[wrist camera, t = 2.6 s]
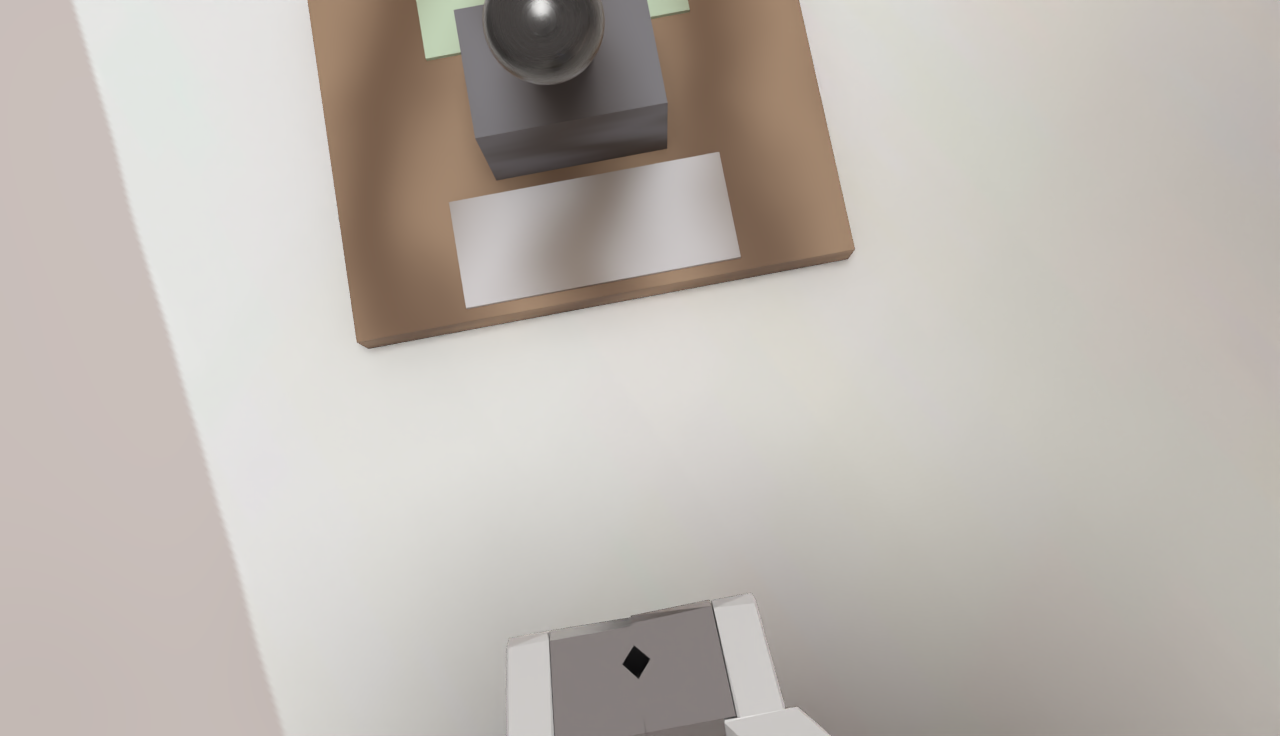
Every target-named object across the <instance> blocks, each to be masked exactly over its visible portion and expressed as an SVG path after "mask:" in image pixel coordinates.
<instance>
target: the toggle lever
mask: <svg viewBox="0 0 1280 736" xmlns="http://www.w3.org/2000/svg"><path fill="white" fill-rule="evenodd" d="M482 21H483V30H484V35H485V39H486V42H487V44H488V46H489V49H490V51H491V52H492V54H493V56H494V57H495V59H496V60H497V61H498V63H499V64H500V65H501V66H502V67H503V68H504V69H505V70H507V71H508V72H509V73H510V74H512V75H513V76H515V77H517V78H518V79H521V80H523V81H525V82H528V83H532V84H537V85H554V84H559V83H563V82H566V81H568V80H570V79H572V78H574V77H576V76H578V75H579V74H580V73H581V72H583V71H584V70H585V69H586V68H587V67H588V66H589V65H590V64H591V62H592V61H593V60H594V58H595V56H596V55H597V53H598V51H599V49H600V46H601V44H602V40H603V36H604V29H605V17H604V9H603V5H602V2H601V0H485V2H484V6H483V14H482Z"/></svg>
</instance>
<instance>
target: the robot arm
mask: <svg viewBox="0 0 1280 736" xmlns="http://www.w3.org/2000/svg"><path fill="white" fill-rule="evenodd" d="M506 736H831V735H830V734H829V733H828V732H826V731H825V730H824V729H823V728H822V727H821V726H820V725H818V724H817V723H816V722H815V721H814V720H813V719H812V718H810V717H809V716H808V715H807V714H806V713H805V712H804V711H802V710H801V709H800V708H799V707H791V708H785V704H784V701H783V697H782V693H781V690H780V686H779V682H778V679H777V675H776V671H775V668H774V664H773V661H772V657H771V653H770V650H769V646H768V642H767V639H766V635H765V631H764V628H763V624H762V620H761V617H760V613H759V609H758V606H757V602H756V599H755V598H754V596H753V595H752V593H747V594H741V595H736V596H731V597H726V598H721V599H715V600H712V601H711V602H710V600H706V601H701V602H696V603H691V604H686V605H681V606H676V607H671V608H666V609H661V610H657V611H652V612H647V613H642V614H637V615H632V616H631V617H630V618H624V619H618V620H612V621H605V622H599V623H593V624H587V625H581V626H575V627H569V628H563V629H556V630H551V631H545V632H540V633H534V634H529V635H523V636H517V637H512V638H509V641H508V645H507V649H506Z"/></svg>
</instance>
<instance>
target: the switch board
mask: <svg viewBox="0 0 1280 736" xmlns="http://www.w3.org/2000/svg"><path fill="white" fill-rule="evenodd" d="M484 2H485V0H308V7H309V13H310V20H311V27H312V34H313V41H314V48H315V55H316V62H317V69H318V76H319V83H320V90H321V97H322V104H323V111H324V118H325V124H326V131H327V138H328V145H329V152H330V159H331V166H332V173H333V180H334V187H335V194H336V201H337V208H338V215H339V222H340V229H341V235H342V242H343V249H344V256H345V263H346V270H347V277H348V284H349V291H350V298H351V305H352V312H353V319H354V326H355V333H356V340H357V343H359V344H361V345H363V346H365V347H366V348H368V349H369V348H374V347H379V346H385V345H390V344H395V343H401V342H406V341H411V340H417V339H422V338H427V337H433V336H438V335H444V334H449V333H454V332H460V331H465V330H470V329H476V328H481V327H486V326H492V325H497V324H502V323H508V322H513V321H518V320H524V319H529V318H535V317H540V316H545V315H551V314H556V313H561V312H567V311H572V310H577V309H583V308H588V307H593V306H599V305H604V304H609V303H615V302H620V301H625V300H631V299H636V298H642V297H647V296H652V295H658V294H663V293H668V292H674V291H679V290H684V289H690V288H695V287H700V286H706V285H711V284H716V283H722V282H727V281H732V280H738V279H743V278H749V277H754V276H759V275H765V274H770V273H775V272H781V271H786V270H791V269H797V268H802V267H807V266H813V265H818V264H823V263H829V262H834V261H839V260H845V259H848V258H849V257H850V255H851V254H852V253H853V251H854V250H855V248H854V243H853V239H852V234H851V230H850V225H849V221H848V216H847V212H846V208H845V203H844V199H843V194H842V190H841V185H840V181H839V176H838V172H837V168H836V163H835V159H834V154H833V150H832V145H831V141H830V136H829V132H828V128H827V123H826V119H825V114H824V110H823V105H822V101H821V96H820V92H819V88H818V83H817V79H816V74H815V70H814V65H813V61H812V56H811V52H810V47H809V43H808V39H807V34H806V30H805V25H804V21H803V16H802V12H801V7H800V3H799V0H601V2H602V5H603V9H604V17H605V29H604V36H603V40H602V44H601V46H600V49H599V51H598V53H597V55H596V56H595V58H594V60H593V61H592V62H591V64H590V65H589V66H588V67H587V68H586V69H585V70H584V71H583V72H581V73H580V74H579V75H578V76H576V77H574V78H572V79H570V80H568V81H566V82H563V83H559V84H554V85H537V84H532V83H528V82H525V81H523V80H521V79H518V78H517V77H515V76H513V75H512V74H510V73H509V72H508V71H507V70H505V69H504V68H503V67H502V66H501V65H500V64H499V63H498V61H497V60H496V59H495V57H494V56H493V54H492V52H491V51H490V49H489V46H488V44H487V42H486V39H485V35H484V30H483V21H482V14H483V6H484Z"/></svg>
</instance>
